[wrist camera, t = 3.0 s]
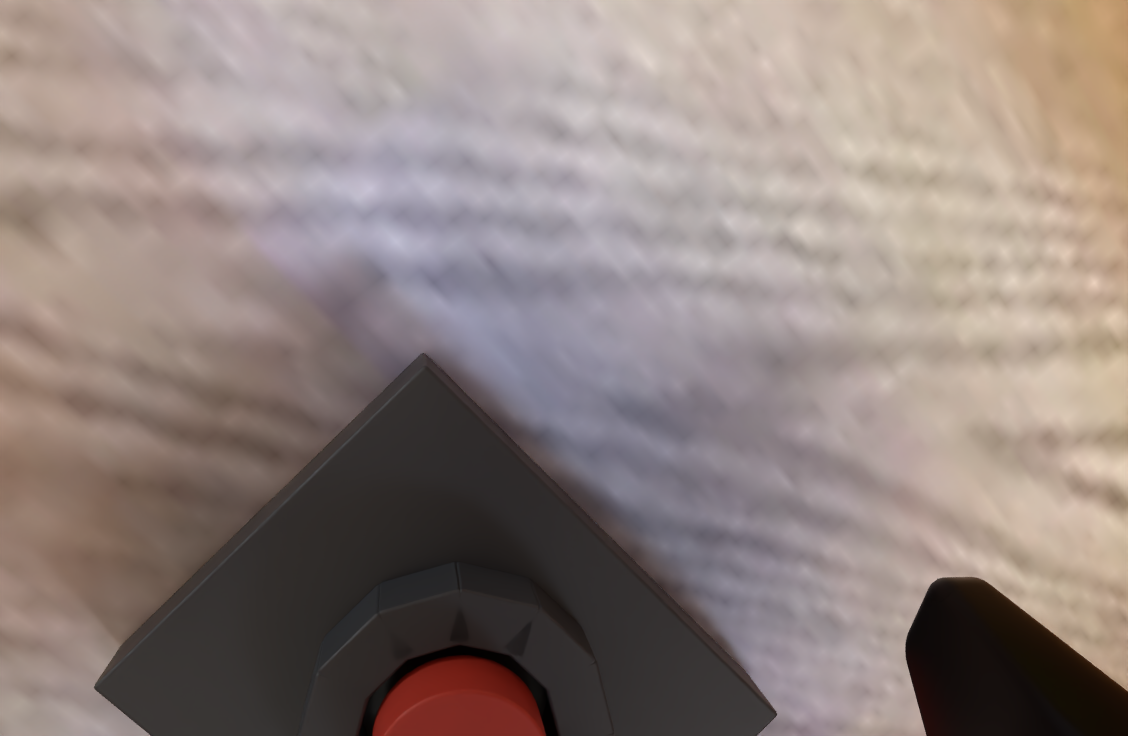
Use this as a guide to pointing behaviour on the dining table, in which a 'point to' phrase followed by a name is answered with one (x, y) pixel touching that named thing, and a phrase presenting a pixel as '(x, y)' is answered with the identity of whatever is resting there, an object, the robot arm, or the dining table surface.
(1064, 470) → the dining table surface
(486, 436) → the switch block
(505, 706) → the power button
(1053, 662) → the robot arm
